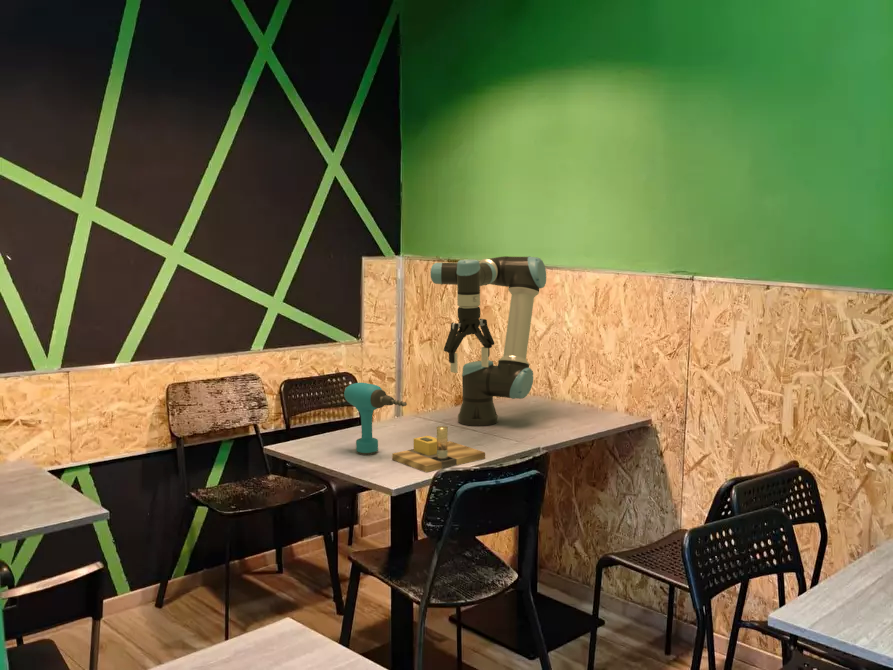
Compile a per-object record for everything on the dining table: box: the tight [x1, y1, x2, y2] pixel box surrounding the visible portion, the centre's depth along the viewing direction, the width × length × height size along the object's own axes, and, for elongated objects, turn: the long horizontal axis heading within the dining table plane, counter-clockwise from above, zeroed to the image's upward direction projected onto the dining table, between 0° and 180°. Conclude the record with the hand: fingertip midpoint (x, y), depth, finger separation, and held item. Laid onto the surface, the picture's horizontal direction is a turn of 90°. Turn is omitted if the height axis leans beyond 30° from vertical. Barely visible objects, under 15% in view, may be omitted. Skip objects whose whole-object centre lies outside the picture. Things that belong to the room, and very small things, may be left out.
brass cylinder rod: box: [436, 425, 449, 461], centre depth 267 cm, size 3×3×12 cm
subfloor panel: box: [391, 440, 486, 473], centre depth 274 cm, size 18×24×2 cm
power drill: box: [343, 382, 408, 456], centre depth 277 cm, size 28×9×23 cm, turn 48°
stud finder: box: [413, 435, 437, 456], centre depth 276 cm, size 8×6×4 cm
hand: (469, 369), depth 284 cm, fingers open, 13 cm apart
